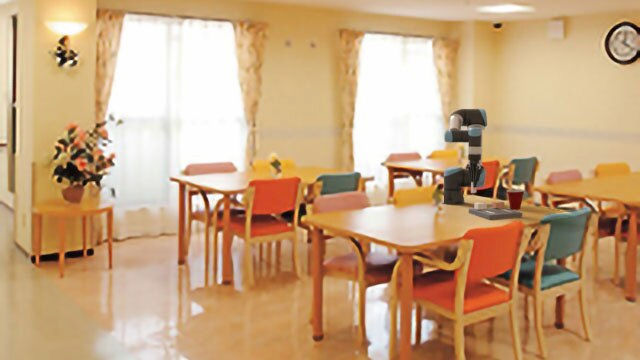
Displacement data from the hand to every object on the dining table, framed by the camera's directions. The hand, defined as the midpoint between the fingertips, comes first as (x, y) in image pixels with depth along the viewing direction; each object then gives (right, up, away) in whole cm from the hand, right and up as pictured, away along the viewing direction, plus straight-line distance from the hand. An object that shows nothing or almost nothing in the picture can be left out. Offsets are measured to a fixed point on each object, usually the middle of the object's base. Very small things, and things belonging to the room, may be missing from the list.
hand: (473, 192), depth 390 cm
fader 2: (+14, -9, -2) cm, 17 cm away
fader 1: (+3, -9, -6) cm, 12 cm away
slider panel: (+10, -13, -9) cm, 19 cm away
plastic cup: (+27, -11, +9) cm, 31 cm away
